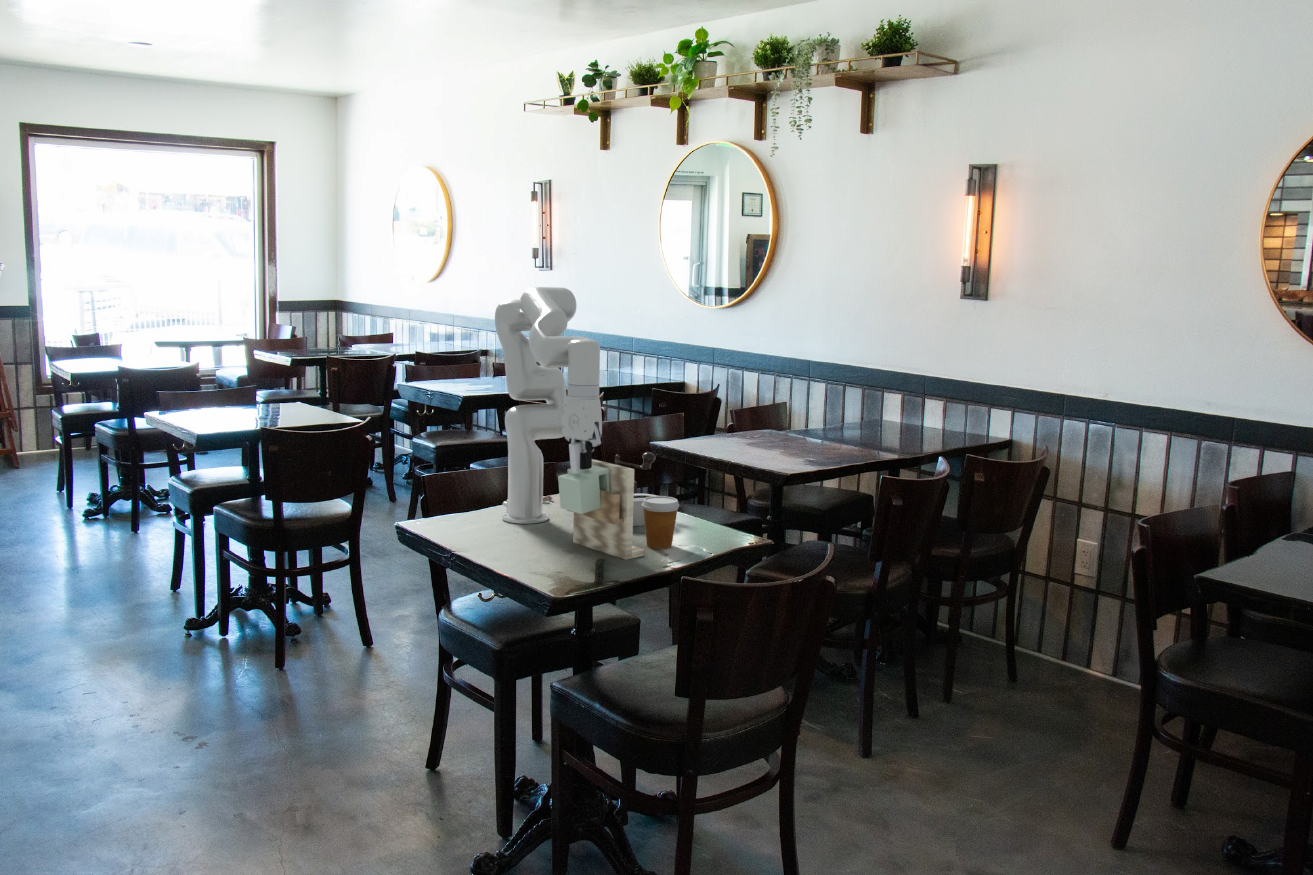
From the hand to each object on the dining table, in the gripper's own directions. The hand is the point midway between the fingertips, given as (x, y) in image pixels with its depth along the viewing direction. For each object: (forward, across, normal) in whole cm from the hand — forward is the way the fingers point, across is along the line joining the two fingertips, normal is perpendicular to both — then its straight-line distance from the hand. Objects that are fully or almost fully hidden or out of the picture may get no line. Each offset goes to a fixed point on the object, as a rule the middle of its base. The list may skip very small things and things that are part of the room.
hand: (582, 467), depth 249 cm
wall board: (+22, 0, +7) cm, 23 cm away
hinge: (+22, -14, +32) cm, 41 cm away
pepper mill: (+22, -27, +39) cm, 52 cm away
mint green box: (+10, 0, +1) cm, 10 cm away
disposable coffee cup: (+22, +6, +21) cm, 31 cm away
